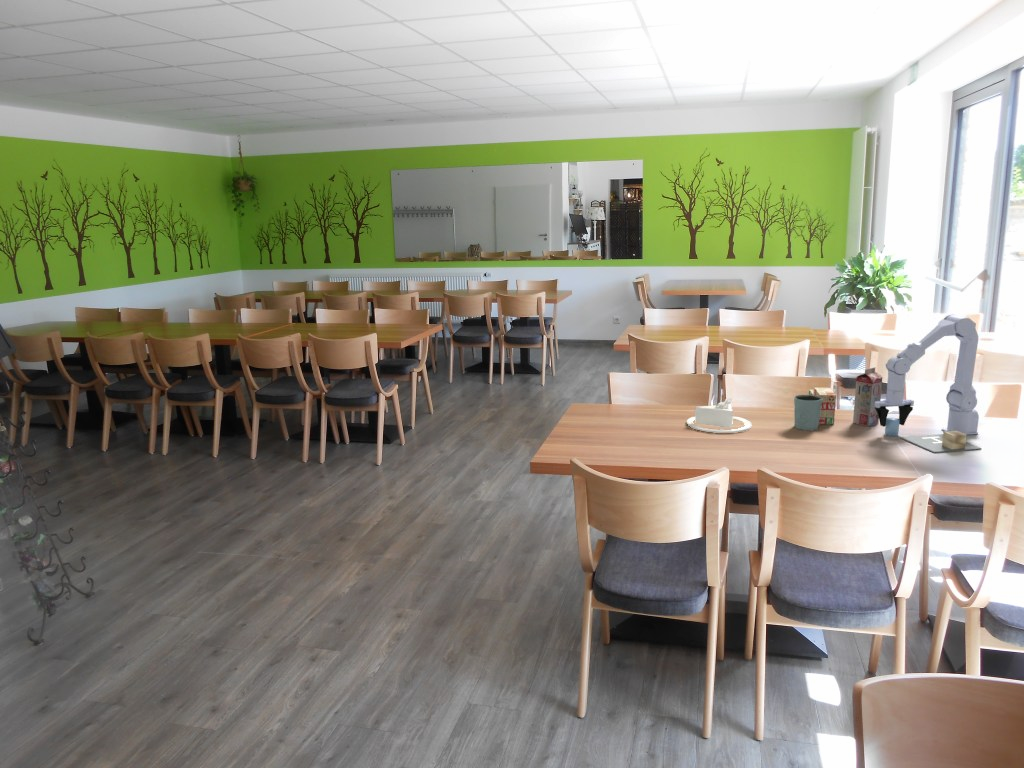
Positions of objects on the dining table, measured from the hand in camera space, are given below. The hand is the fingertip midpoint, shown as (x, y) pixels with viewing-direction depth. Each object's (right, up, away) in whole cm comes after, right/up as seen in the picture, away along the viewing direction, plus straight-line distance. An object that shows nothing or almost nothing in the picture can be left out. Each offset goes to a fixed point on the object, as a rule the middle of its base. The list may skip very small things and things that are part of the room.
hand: (892, 425), depth 282 cm
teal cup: (-27, -2, +13) cm, 30 cm away
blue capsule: (0, -4, +1) cm, 4 cm away
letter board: (+11, -6, -11) cm, 17 cm away
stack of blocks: (-16, +1, +26) cm, 31 cm away
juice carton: (-2, 0, +16) cm, 16 cm away
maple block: (+13, -7, -17) cm, 22 cm away
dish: (-59, -1, +19) cm, 62 cm away
